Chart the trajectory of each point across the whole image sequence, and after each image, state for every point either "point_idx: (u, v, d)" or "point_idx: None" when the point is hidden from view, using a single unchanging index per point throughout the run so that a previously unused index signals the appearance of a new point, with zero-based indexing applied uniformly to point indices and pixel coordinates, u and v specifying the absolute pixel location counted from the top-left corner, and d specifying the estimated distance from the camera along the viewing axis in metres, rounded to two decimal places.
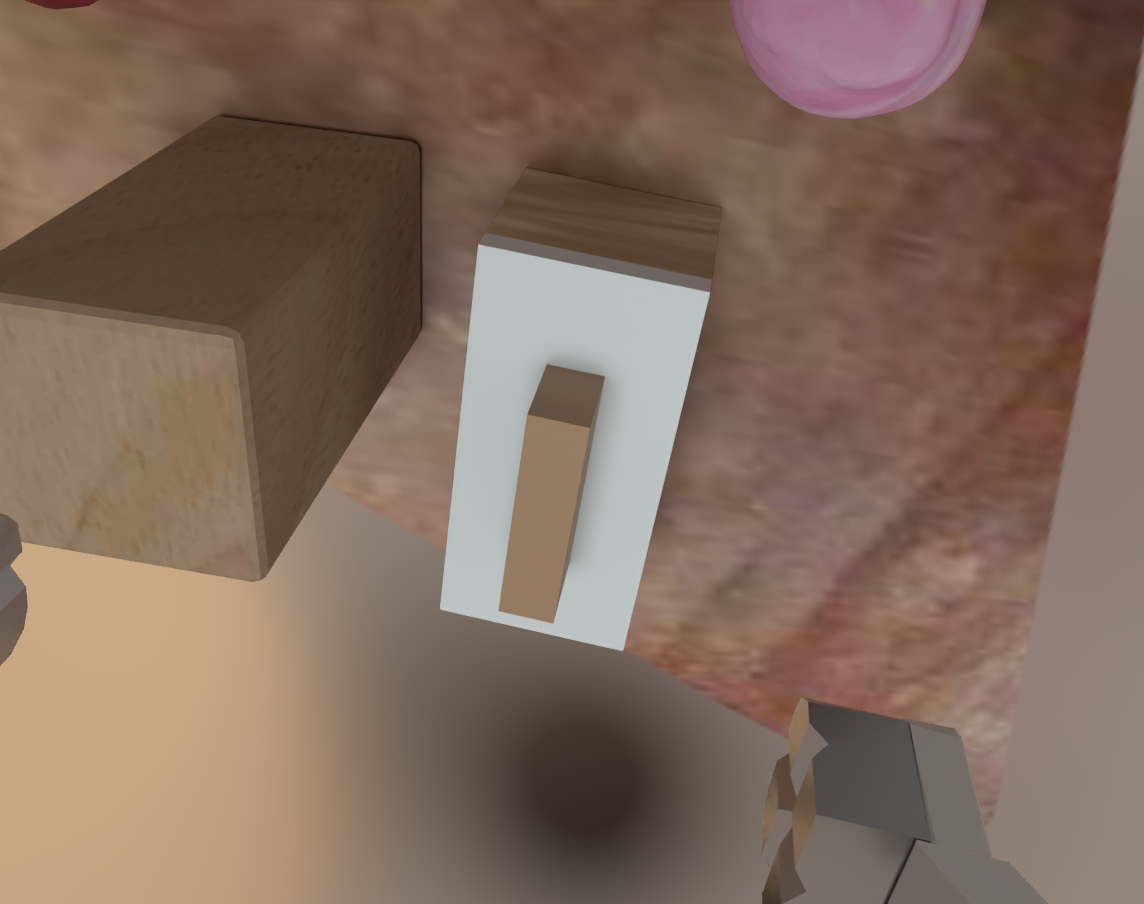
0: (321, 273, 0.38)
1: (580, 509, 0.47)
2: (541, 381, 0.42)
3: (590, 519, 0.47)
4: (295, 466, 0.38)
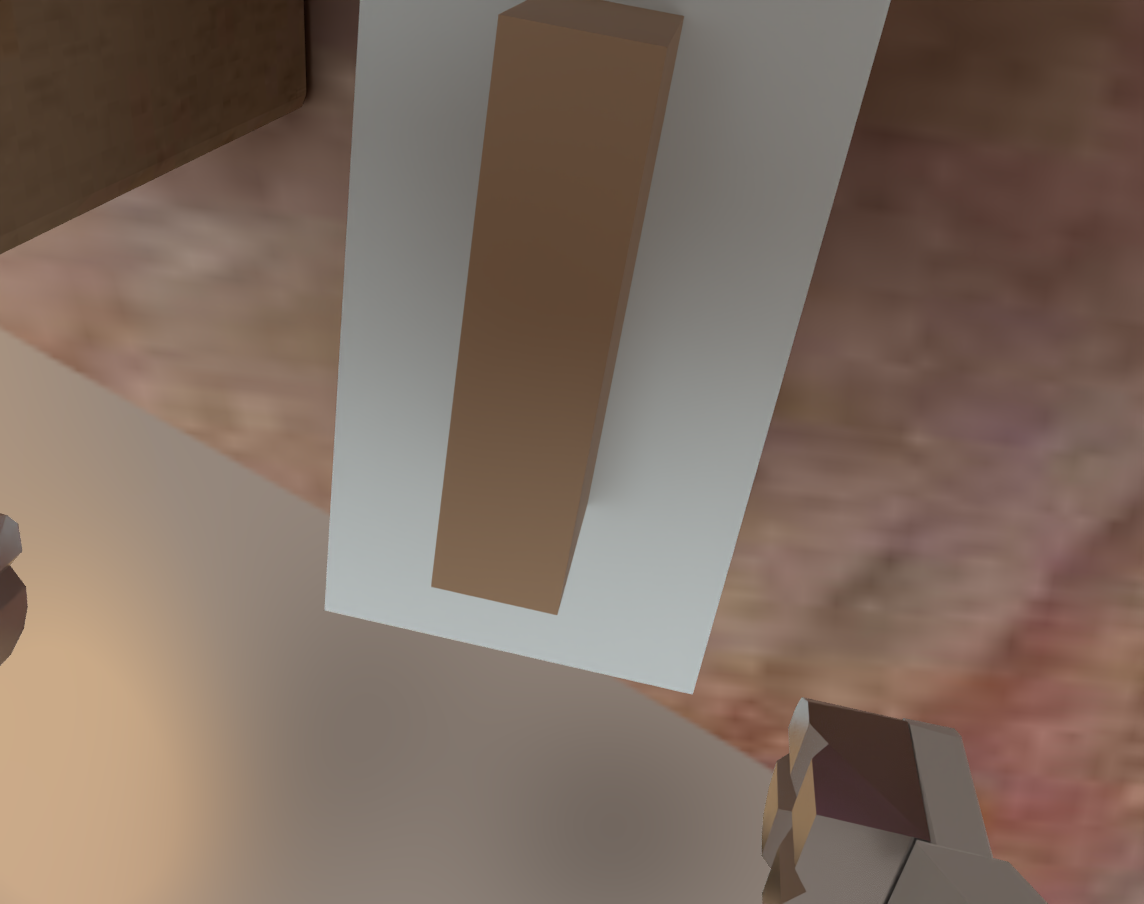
0: None
1: (615, 372, 0.21)
2: None
3: (636, 396, 0.22)
4: None
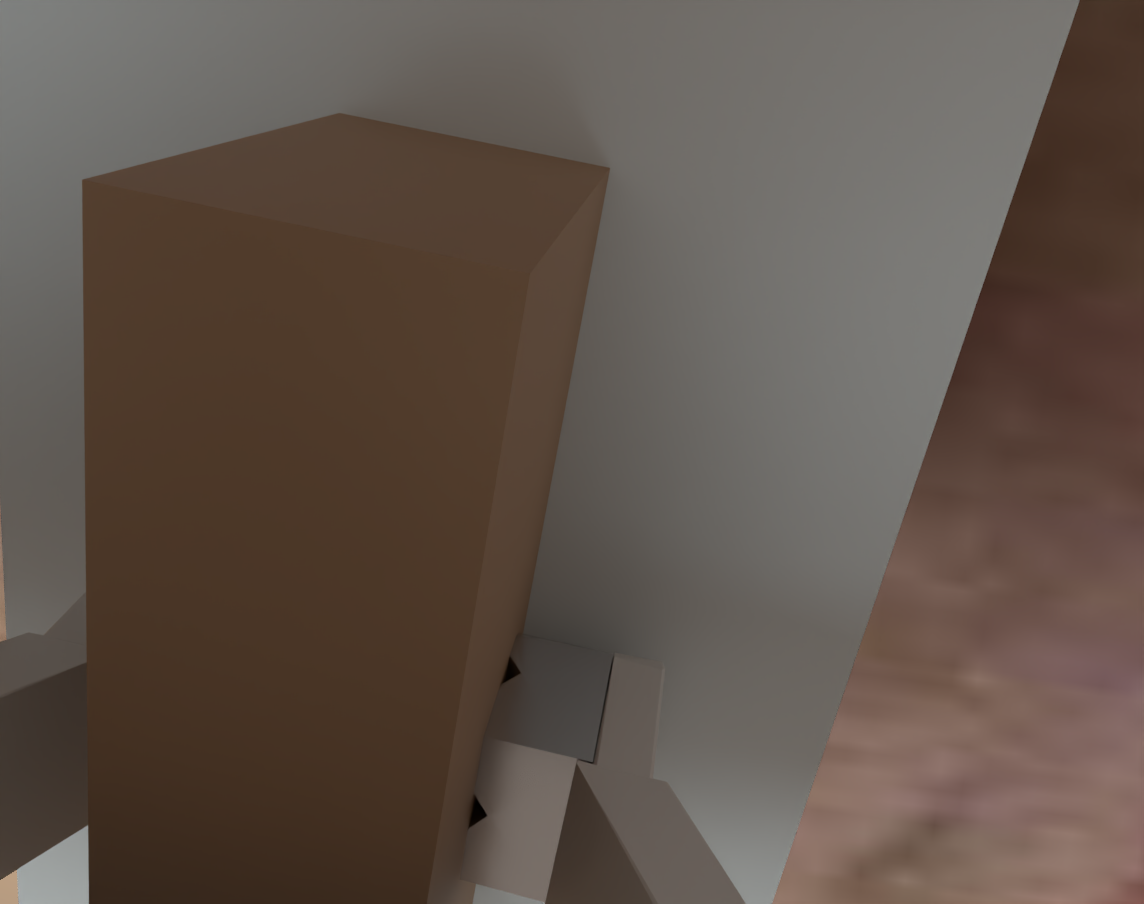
0: None
1: None
2: (281, 130, 0.08)
3: None
4: None
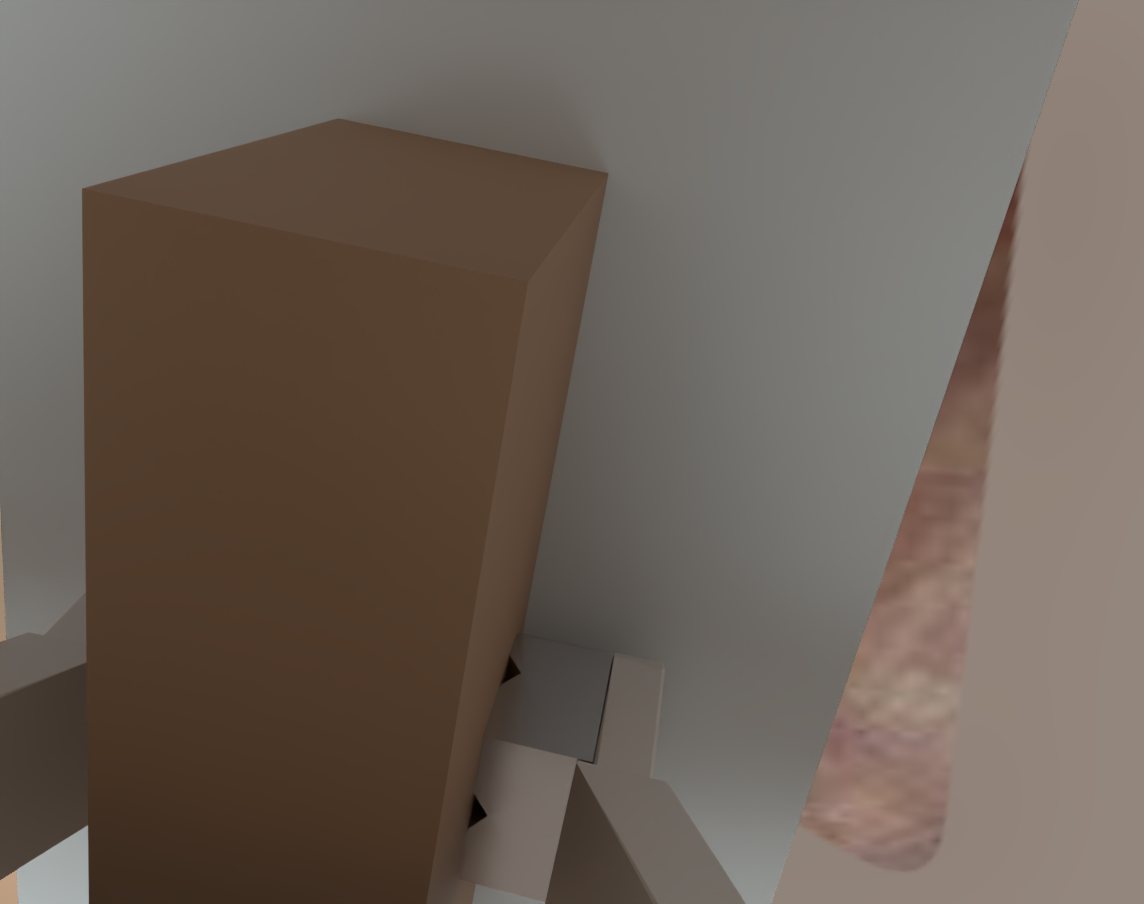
0: None
1: None
2: (280, 136, 0.08)
3: None
4: None
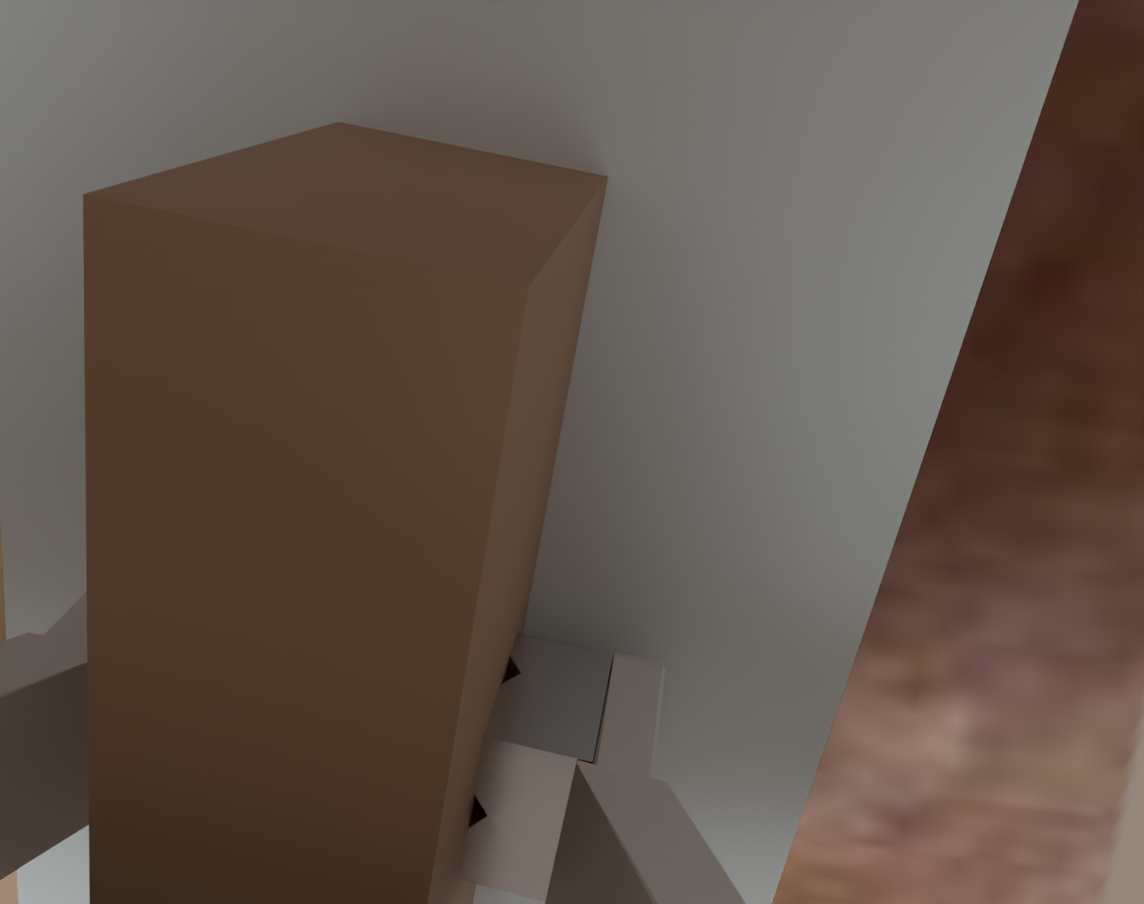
0: None
1: None
2: (280, 140, 0.08)
3: None
4: None
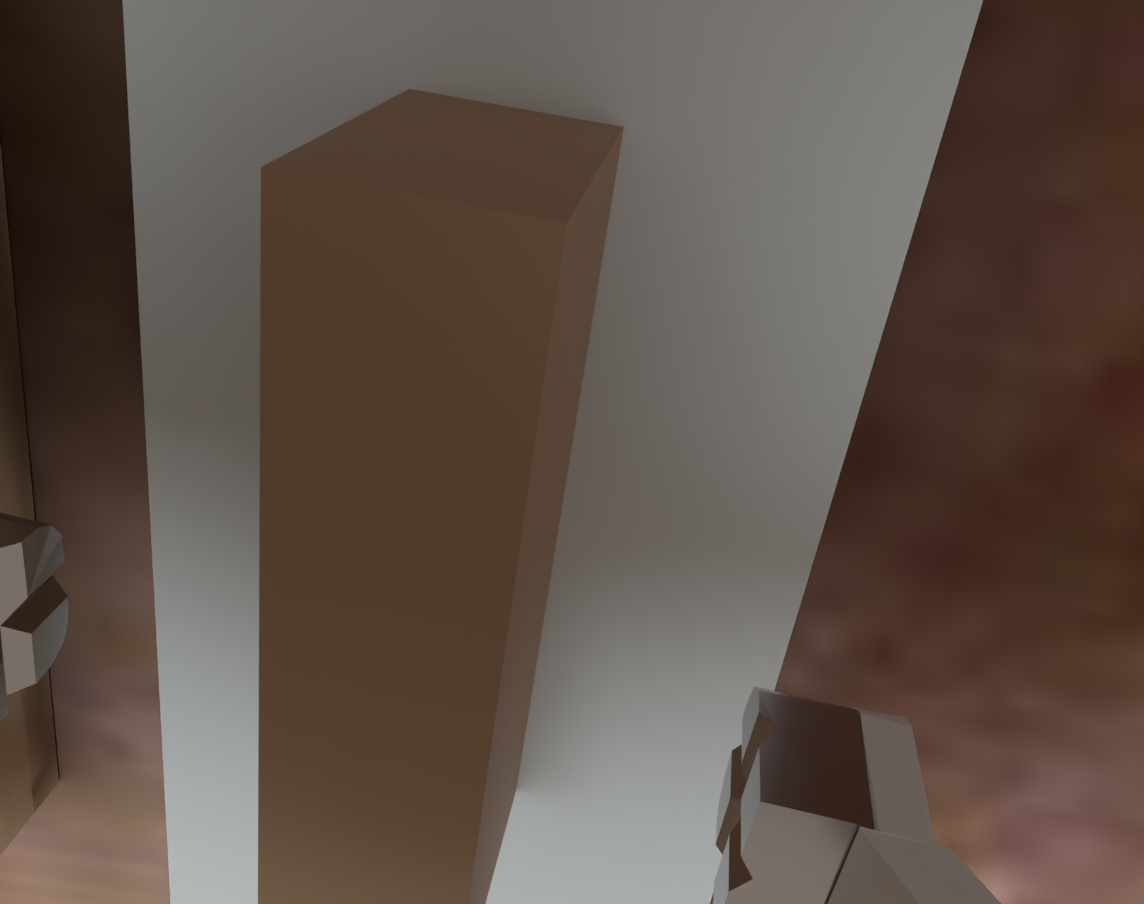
0: None
1: (545, 625, 0.15)
2: (372, 111, 0.10)
3: (577, 657, 0.15)
4: None
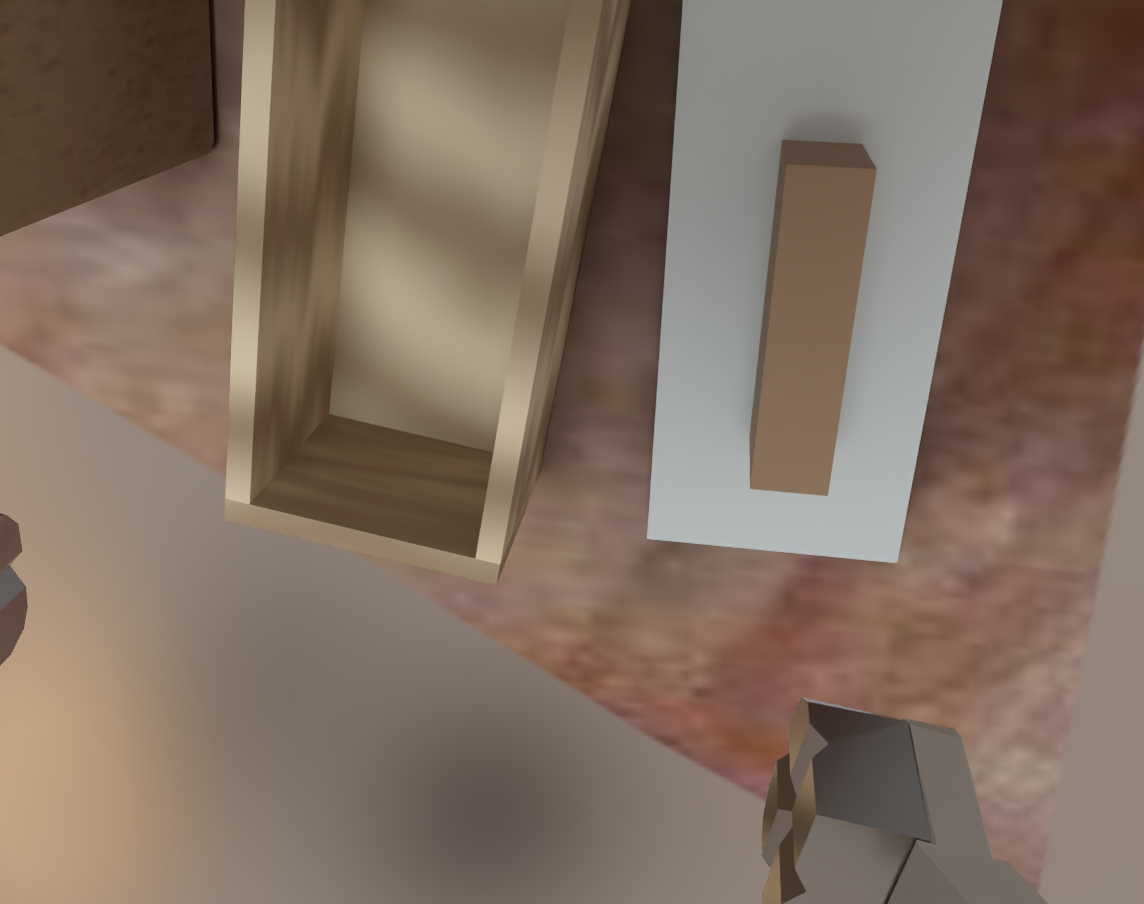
0: None
1: None
2: (785, 147, 0.31)
3: (847, 367, 0.35)
4: None
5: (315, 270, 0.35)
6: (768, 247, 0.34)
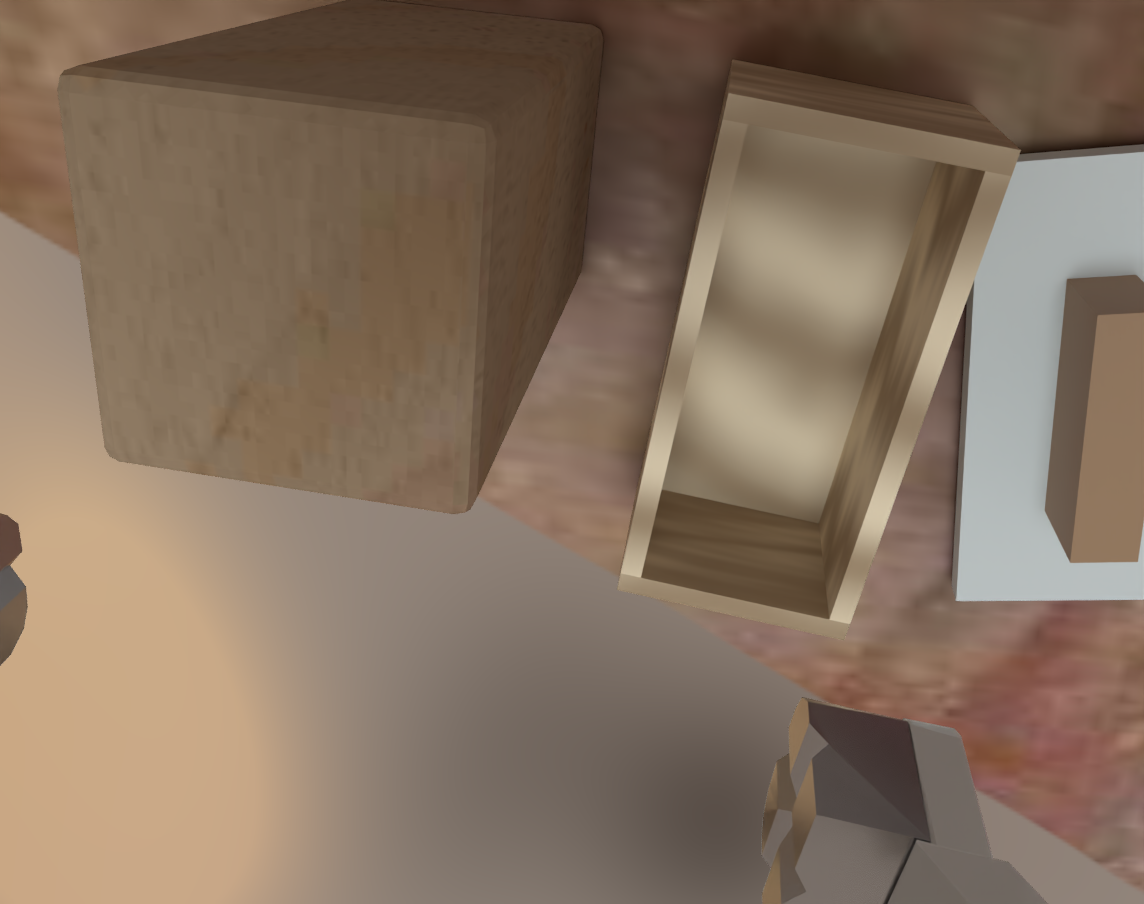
0: (545, 111, 0.29)
1: None
2: (1078, 290, 0.39)
3: None
4: (505, 365, 0.29)
5: None
6: (1057, 362, 0.41)
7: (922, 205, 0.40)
